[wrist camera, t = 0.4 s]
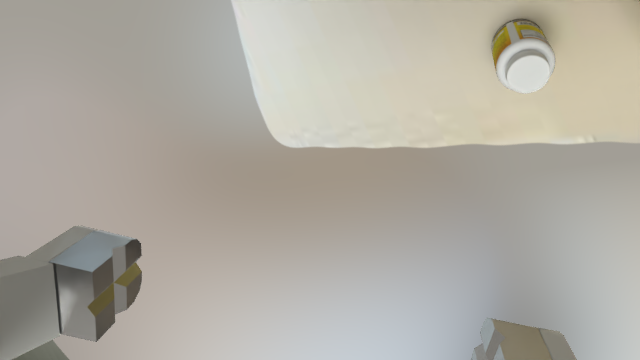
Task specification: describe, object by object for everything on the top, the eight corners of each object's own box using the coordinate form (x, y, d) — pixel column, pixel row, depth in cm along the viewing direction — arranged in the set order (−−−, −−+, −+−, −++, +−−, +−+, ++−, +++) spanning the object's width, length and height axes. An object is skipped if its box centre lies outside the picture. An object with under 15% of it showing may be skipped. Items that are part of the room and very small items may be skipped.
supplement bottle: (497, 72, 53) (505, 108, 45) (485, 29, 51) (491, 59, 43) (547, 55, 51) (565, 91, 42) (538, 10, 48) (554, 38, 40)
